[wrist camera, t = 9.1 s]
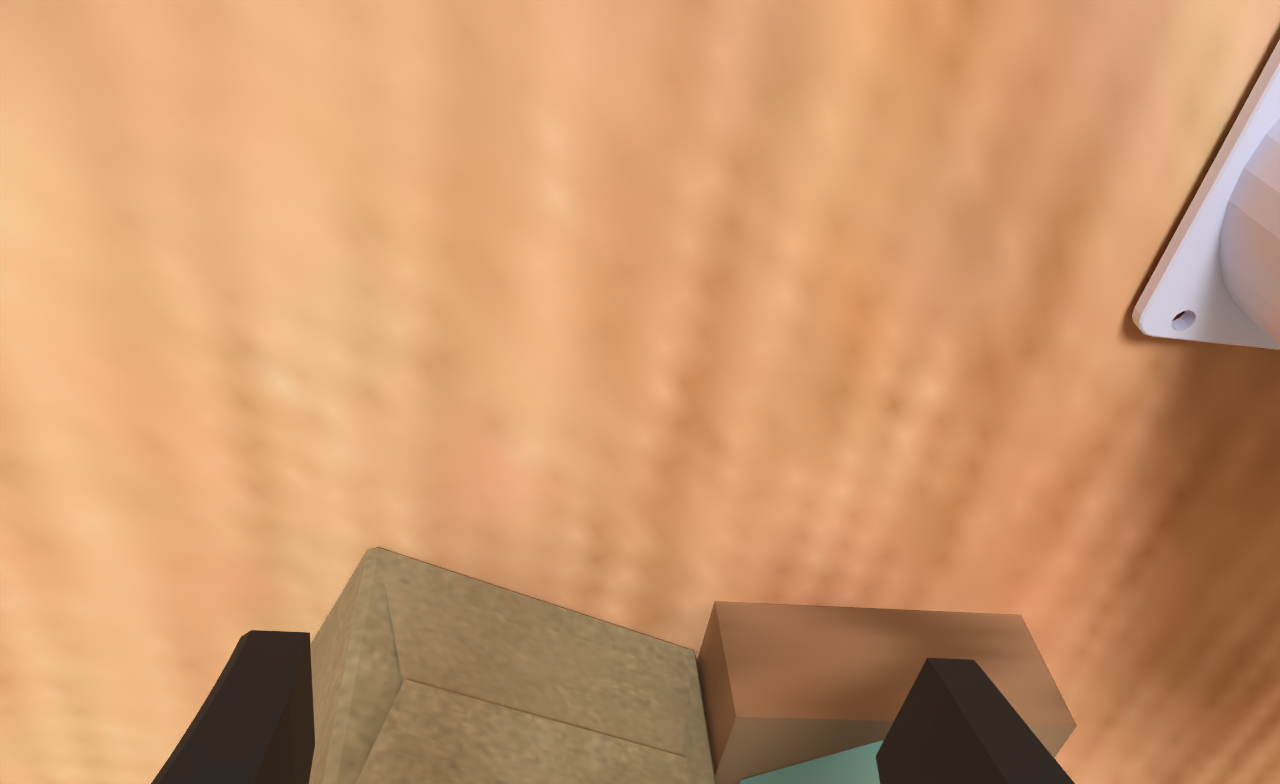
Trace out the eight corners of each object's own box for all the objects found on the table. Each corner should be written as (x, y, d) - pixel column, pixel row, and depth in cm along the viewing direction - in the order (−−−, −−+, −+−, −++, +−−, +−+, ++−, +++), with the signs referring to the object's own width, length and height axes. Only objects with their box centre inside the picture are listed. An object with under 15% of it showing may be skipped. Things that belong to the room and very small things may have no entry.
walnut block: (1016, 604, 28) (1076, 725, 25) (915, 781, 33) (954, 899, 30) (712, 590, 27) (736, 716, 23) (657, 776, 32) (670, 900, 29)
